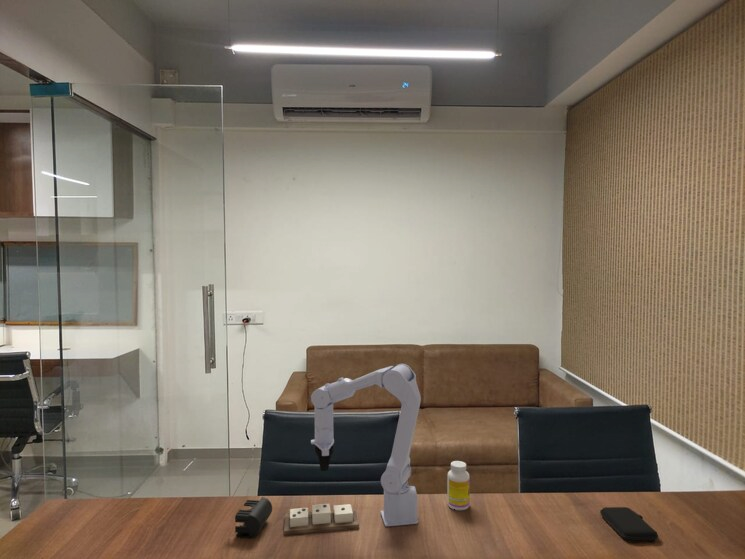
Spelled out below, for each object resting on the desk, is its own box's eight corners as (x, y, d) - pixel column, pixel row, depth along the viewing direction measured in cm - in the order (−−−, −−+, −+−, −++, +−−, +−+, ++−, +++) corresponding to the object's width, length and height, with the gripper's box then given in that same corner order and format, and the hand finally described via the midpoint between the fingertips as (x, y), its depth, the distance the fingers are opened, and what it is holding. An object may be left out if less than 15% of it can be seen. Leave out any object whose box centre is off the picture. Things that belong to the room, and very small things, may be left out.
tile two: (329, 513, 136) (329, 502, 136) (330, 523, 131) (330, 511, 131) (312, 515, 135) (312, 504, 135) (312, 524, 130) (312, 513, 130)
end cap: (260, 541, 125) (259, 516, 124) (234, 539, 125) (234, 514, 125) (272, 520, 134) (272, 497, 134) (249, 518, 135) (248, 495, 135)
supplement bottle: (471, 511, 139) (472, 468, 139) (449, 511, 139) (449, 468, 138) (466, 499, 146) (467, 459, 145) (445, 500, 146) (445, 459, 145)
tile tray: (355, 512, 139) (355, 508, 139) (358, 528, 130) (358, 524, 130) (285, 518, 136) (285, 513, 136) (284, 535, 127) (284, 531, 127)
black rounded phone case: (665, 544, 123) (633, 514, 138) (666, 533, 123) (633, 504, 138) (625, 545, 123) (597, 515, 137) (625, 534, 123) (597, 505, 137)
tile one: (350, 514, 137) (350, 503, 136) (352, 523, 132) (352, 512, 132) (333, 515, 136) (333, 504, 136) (335, 525, 131) (334, 513, 131)
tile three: (307, 517, 135) (307, 506, 135) (308, 527, 130) (308, 516, 130) (290, 519, 134) (290, 508, 134) (289, 529, 129) (289, 517, 129)
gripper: (310, 418, 150) (310, 460, 150) (311, 435, 135) (311, 481, 136) (332, 417, 151) (332, 459, 151) (335, 433, 136) (336, 479, 137)
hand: (324, 469), depth 144 cm, fingers closed
